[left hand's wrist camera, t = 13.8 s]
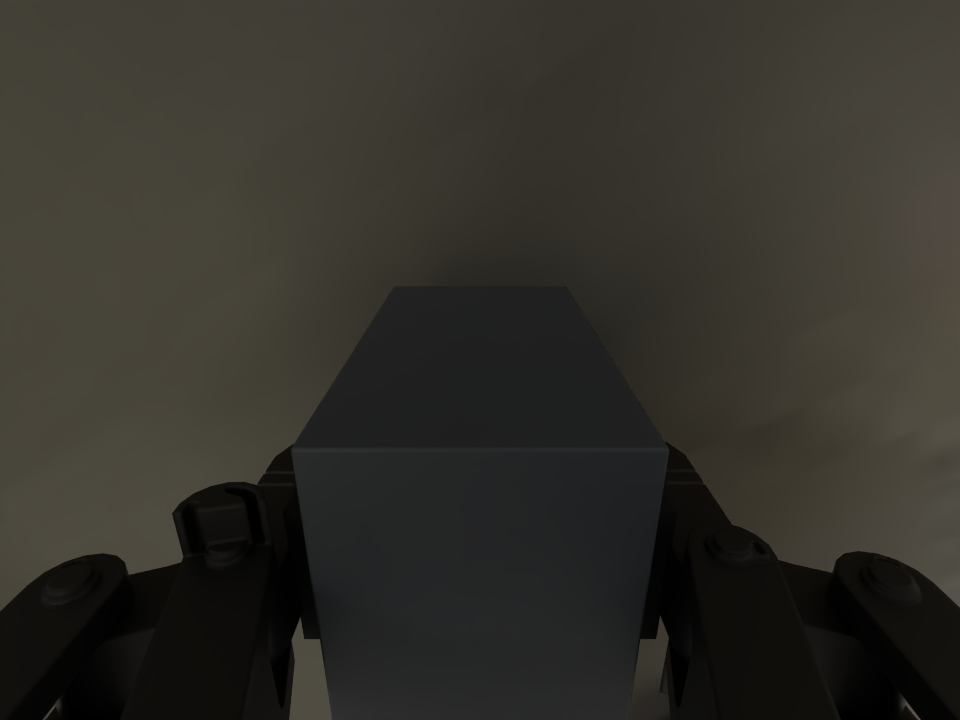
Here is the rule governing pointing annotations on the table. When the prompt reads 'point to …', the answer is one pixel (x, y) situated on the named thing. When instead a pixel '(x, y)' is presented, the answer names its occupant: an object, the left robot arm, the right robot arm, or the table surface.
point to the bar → (480, 513)
